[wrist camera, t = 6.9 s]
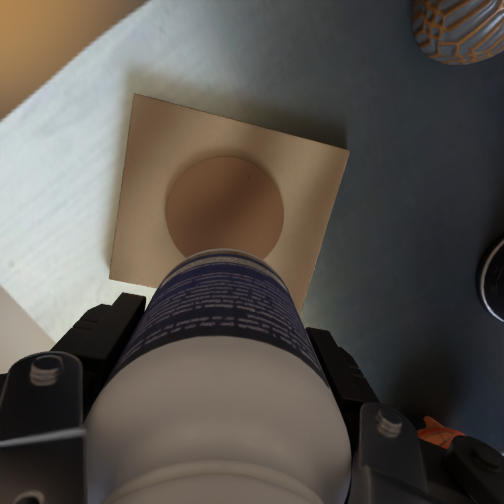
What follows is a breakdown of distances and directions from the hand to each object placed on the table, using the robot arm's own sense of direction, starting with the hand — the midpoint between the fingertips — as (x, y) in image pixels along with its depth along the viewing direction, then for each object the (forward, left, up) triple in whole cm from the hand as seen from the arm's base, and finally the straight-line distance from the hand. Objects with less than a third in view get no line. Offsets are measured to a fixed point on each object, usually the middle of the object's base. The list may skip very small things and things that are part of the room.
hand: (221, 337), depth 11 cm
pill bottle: (0, 0, -2) cm, 2 cm away
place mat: (0, -1, -16) cm, 16 cm away
